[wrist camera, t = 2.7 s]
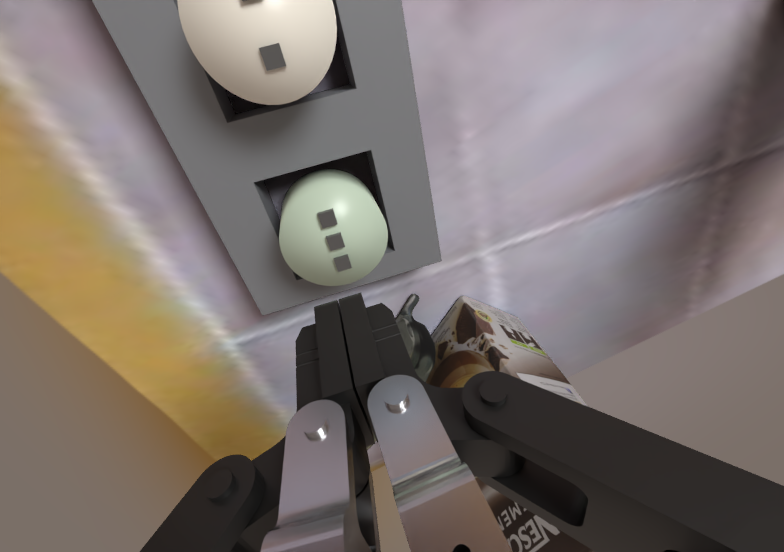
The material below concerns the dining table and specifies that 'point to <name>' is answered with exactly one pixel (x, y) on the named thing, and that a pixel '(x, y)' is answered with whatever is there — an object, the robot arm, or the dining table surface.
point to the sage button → (331, 228)
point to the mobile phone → (416, 341)
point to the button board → (288, 139)
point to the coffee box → (519, 359)
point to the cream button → (262, 45)
